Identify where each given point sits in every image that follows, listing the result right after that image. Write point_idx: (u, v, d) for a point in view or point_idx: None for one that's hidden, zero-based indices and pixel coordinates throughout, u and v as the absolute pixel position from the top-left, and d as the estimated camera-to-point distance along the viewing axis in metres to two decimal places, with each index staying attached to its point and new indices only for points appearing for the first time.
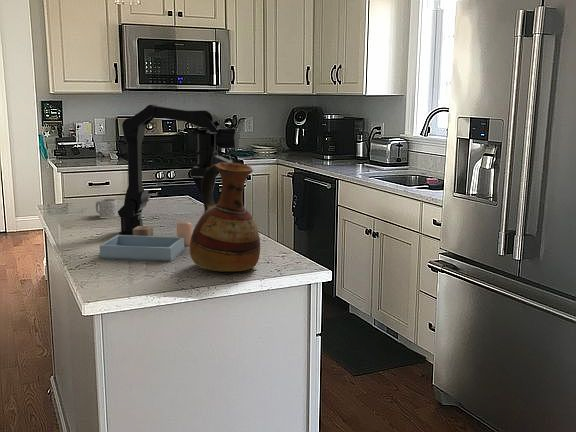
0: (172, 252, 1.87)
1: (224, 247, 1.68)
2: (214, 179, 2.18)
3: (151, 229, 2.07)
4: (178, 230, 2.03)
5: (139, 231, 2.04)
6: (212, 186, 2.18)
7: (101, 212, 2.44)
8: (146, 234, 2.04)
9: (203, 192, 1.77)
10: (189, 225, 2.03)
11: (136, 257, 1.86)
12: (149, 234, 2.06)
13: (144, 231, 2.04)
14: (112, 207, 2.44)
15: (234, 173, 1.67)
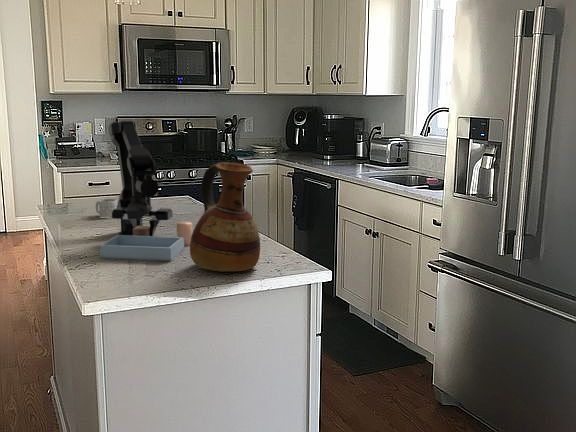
0: (172, 252, 1.87)
1: (224, 247, 1.68)
2: None
3: None
4: (178, 230, 2.03)
5: (139, 231, 2.04)
6: (150, 234, 2.06)
7: (101, 212, 2.44)
8: (146, 234, 2.04)
9: (203, 192, 1.77)
10: (189, 225, 2.03)
11: (136, 257, 1.86)
12: (149, 234, 2.05)
13: (144, 231, 2.04)
14: (112, 207, 2.44)
15: (234, 173, 1.67)
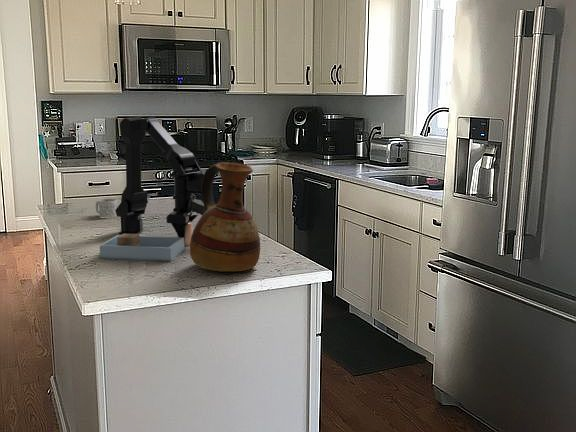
0: (172, 252, 1.87)
1: (224, 247, 1.68)
2: None
3: (137, 237, 1.93)
4: None
5: (124, 239, 1.90)
6: None
7: (101, 212, 2.44)
8: (132, 242, 1.90)
9: (203, 192, 1.77)
10: (189, 225, 2.03)
11: (136, 257, 1.86)
12: (135, 242, 1.92)
13: (129, 239, 1.90)
14: (112, 207, 2.44)
15: (234, 173, 1.67)
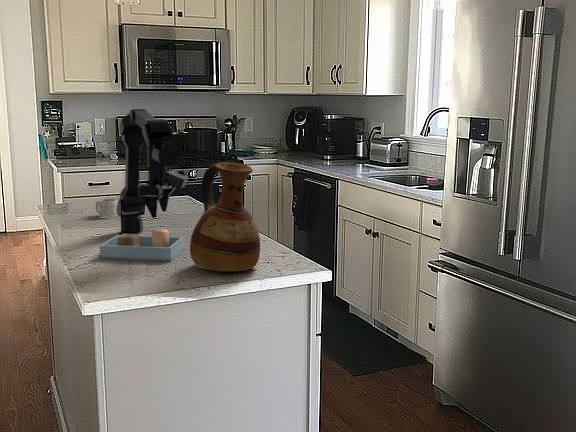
0: (172, 252, 1.87)
1: (224, 247, 1.68)
2: (167, 197, 1.94)
3: (137, 237, 1.93)
4: (153, 238, 1.90)
5: (124, 239, 1.90)
6: (165, 205, 1.94)
7: (101, 212, 2.44)
8: (132, 242, 1.90)
9: (203, 192, 1.77)
10: (165, 232, 1.89)
11: (136, 257, 1.86)
12: (135, 242, 1.92)
13: (129, 239, 1.90)
14: (112, 207, 2.44)
15: (234, 173, 1.67)
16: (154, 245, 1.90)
